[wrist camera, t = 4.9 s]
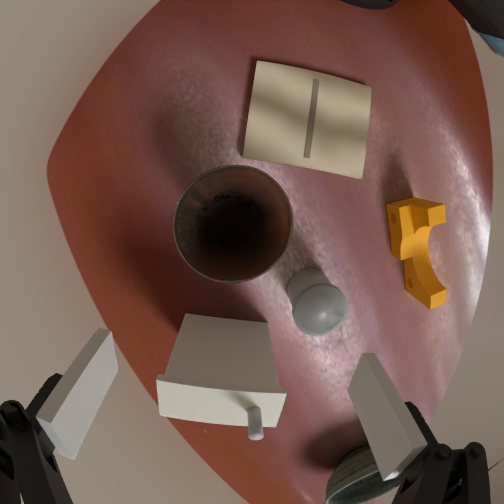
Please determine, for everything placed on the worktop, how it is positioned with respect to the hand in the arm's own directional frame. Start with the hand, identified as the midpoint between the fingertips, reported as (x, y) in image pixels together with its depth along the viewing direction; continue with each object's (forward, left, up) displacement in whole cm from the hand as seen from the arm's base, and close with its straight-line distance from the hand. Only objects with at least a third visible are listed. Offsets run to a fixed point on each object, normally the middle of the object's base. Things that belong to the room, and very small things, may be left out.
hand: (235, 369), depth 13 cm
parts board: (-16, +6, -19) cm, 25 cm away
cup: (-5, -1, -19) cm, 20 cm away
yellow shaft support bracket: (-4, +21, -19) cm, 28 cm away
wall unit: (+10, 0, -19) cm, 21 cm away
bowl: (+42, +32, -19) cm, 55 cm away
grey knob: (+3, +9, -19) cm, 21 cm away
